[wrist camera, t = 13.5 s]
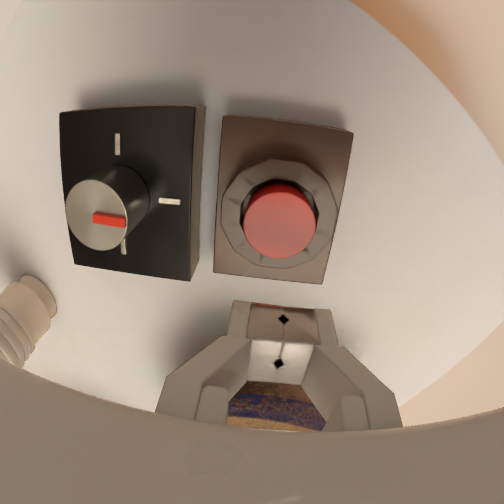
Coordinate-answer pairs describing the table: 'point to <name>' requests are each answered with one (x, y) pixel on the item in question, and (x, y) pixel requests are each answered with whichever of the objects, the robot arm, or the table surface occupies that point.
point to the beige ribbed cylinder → (24, 318)
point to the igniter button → (279, 221)
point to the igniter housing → (271, 172)
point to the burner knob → (106, 207)
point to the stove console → (152, 173)
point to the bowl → (274, 408)
